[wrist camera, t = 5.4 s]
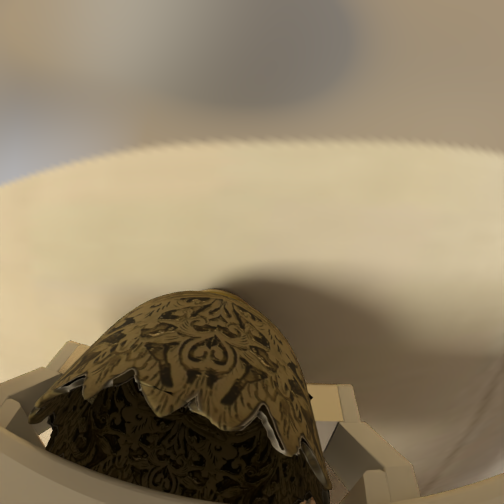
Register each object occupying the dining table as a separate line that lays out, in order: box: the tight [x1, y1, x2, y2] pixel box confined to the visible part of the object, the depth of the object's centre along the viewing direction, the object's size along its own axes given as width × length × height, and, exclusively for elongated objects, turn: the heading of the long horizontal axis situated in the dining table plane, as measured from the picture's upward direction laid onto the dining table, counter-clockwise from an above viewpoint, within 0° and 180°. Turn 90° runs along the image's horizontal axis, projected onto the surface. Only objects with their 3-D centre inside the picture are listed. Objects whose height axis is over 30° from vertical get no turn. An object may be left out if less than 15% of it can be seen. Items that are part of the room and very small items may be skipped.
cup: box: [28, 289, 332, 504], centre depth 9 cm, size 8×7×8 cm
